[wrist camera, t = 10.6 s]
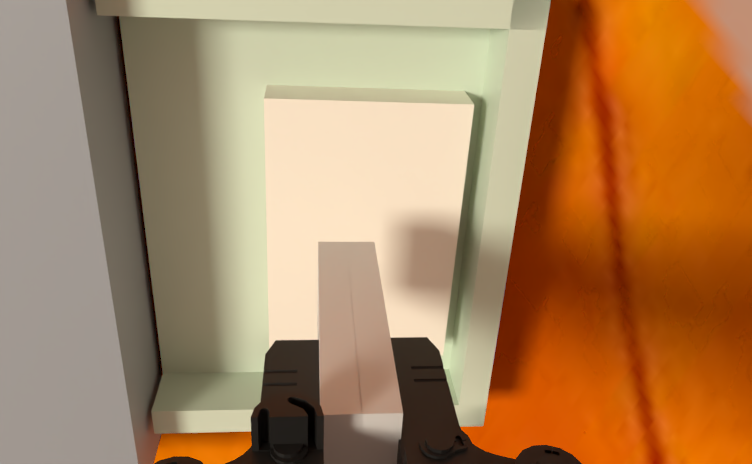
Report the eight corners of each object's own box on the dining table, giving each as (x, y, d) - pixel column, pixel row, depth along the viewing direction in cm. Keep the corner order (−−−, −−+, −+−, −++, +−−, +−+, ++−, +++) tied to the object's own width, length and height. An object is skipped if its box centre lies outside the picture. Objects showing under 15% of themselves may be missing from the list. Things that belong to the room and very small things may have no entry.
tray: (117, -39, 19) (90, -27, 17) (525, -22, 20) (552, -10, 18) (168, 385, 26) (154, 433, 23) (469, 380, 27) (483, 425, 25)
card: (474, 104, 20) (464, 91, 21) (263, 98, 19) (266, 84, 20) (443, 355, 24) (436, 331, 25) (269, 356, 23) (271, 332, 24)
